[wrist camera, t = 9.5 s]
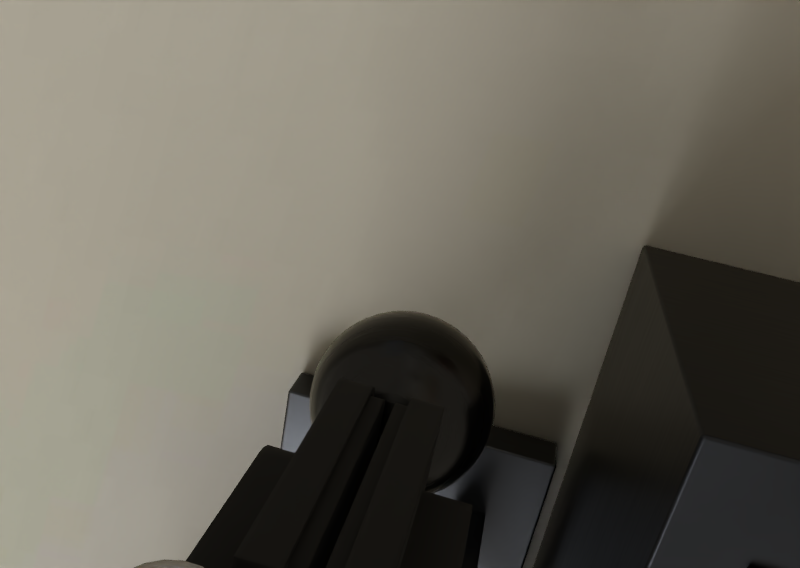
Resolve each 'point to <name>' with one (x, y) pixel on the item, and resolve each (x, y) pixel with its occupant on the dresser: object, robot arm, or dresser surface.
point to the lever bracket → (475, 486)
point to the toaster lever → (417, 382)
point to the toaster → (689, 427)
